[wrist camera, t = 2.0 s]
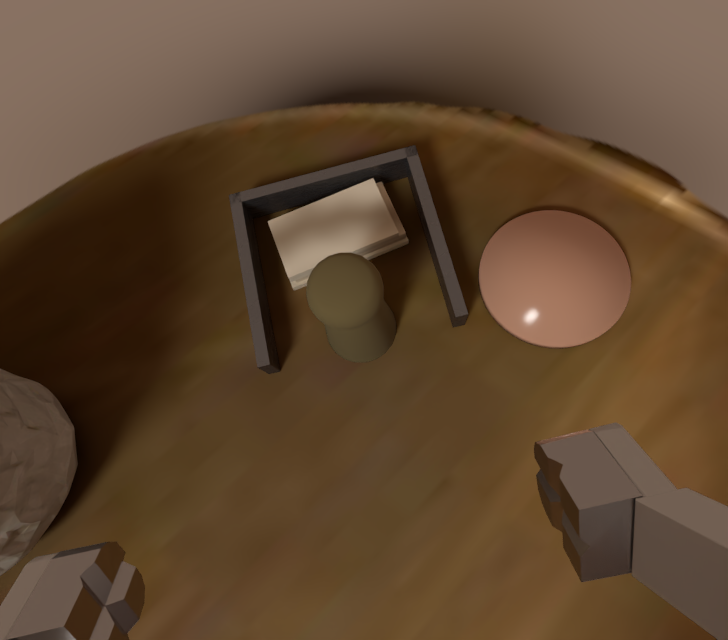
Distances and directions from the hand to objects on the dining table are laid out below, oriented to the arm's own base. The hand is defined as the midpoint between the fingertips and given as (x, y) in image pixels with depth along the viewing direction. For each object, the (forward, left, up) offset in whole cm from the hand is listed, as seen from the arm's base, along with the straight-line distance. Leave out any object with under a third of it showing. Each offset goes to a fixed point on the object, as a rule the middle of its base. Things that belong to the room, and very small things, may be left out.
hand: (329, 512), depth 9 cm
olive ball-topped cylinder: (+7, -10, -30) cm, 32 cm away
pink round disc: (-6, -19, -29) cm, 36 cm away
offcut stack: (+12, -17, -30) cm, 36 cm away
